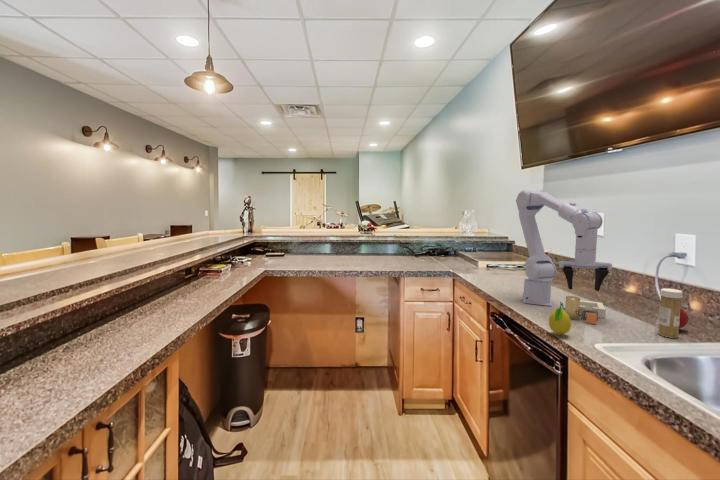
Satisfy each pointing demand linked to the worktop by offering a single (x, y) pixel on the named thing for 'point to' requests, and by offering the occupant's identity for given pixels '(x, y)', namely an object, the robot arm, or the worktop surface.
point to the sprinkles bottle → (669, 312)
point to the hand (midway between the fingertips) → (583, 289)
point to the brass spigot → (572, 307)
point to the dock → (593, 307)
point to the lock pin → (591, 318)
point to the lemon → (560, 321)
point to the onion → (683, 318)
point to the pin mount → (589, 312)
